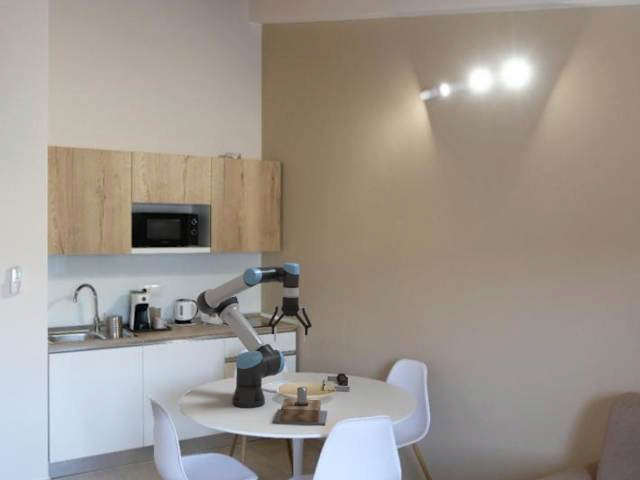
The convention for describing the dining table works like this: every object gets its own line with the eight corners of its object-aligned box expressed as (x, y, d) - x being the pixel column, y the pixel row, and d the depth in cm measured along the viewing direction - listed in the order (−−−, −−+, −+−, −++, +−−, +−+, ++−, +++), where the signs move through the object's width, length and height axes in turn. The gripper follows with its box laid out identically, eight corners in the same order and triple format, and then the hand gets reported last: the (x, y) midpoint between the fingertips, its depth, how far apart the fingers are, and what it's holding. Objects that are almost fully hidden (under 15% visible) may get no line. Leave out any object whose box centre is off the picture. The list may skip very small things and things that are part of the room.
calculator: (255, 390, 339) (255, 386, 339) (279, 382, 356) (279, 379, 356) (277, 394, 332) (277, 390, 332) (299, 386, 349) (299, 382, 349)
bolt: (343, 393, 344) (339, 384, 359) (351, 388, 344) (348, 380, 359) (337, 383, 343) (334, 375, 358) (346, 378, 343) (343, 370, 358)
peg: (296, 416, 291) (297, 389, 290) (297, 414, 294) (297, 386, 294) (305, 417, 290) (306, 389, 290) (306, 414, 294) (307, 387, 294)
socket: (273, 423, 284) (273, 409, 284) (278, 410, 302) (278, 397, 302) (325, 425, 283) (325, 411, 283) (327, 413, 301) (327, 399, 301)
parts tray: (323, 390, 340) (323, 385, 340) (325, 380, 362) (325, 375, 362) (349, 391, 339) (349, 386, 339) (350, 381, 361) (350, 376, 361)
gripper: (262, 296, 311) (261, 342, 312) (316, 298, 310) (315, 344, 311) (265, 294, 319) (264, 339, 319) (317, 296, 317) (316, 341, 318)
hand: (289, 341), depth 315 cm, fingers open, 13 cm apart
